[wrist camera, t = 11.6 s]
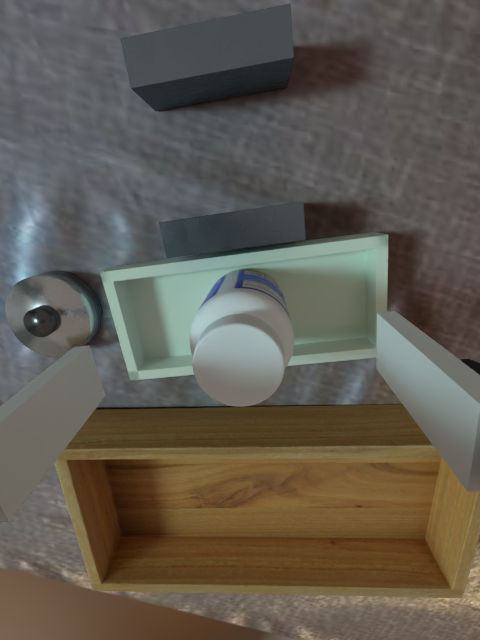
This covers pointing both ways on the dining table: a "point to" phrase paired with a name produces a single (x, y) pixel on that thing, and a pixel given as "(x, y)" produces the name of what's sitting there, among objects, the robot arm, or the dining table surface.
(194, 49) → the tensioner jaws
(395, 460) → the tray
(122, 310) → the tray
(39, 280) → the silver pot lid
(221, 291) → the pill bottle
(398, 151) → the dining table surface
